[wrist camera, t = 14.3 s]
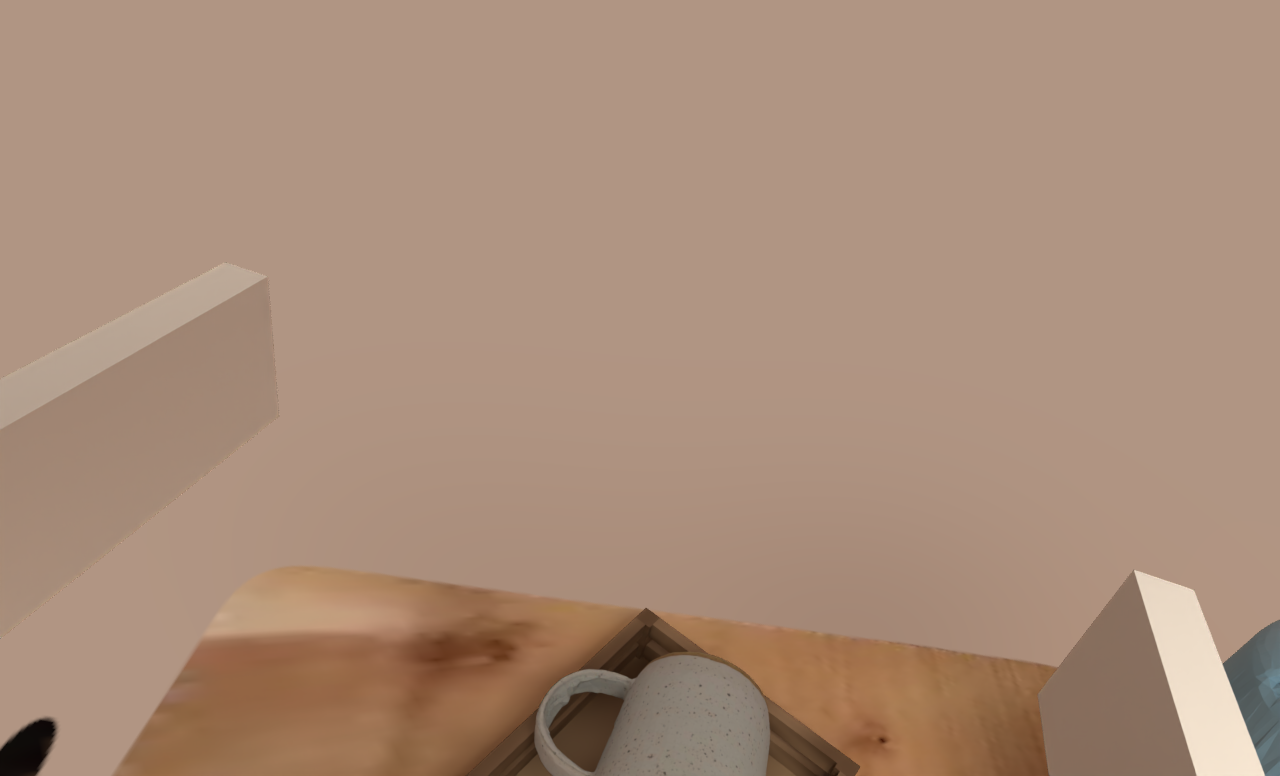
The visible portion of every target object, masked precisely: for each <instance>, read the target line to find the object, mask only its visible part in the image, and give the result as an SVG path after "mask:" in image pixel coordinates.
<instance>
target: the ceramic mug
mask: <svg viewBox="0 0 1280 776" xmlns="http://www.w3.org/2000/svg"><path fill="white" fill-rule="evenodd" d="M583 692H594V693H604V694H607V695H612V696H615V697H618V698H621V699H623V700H624V702H623V705H622V707H621V710H620V712H619V715H618V717H617V719H616V721H615V723H614V729H613V731H612V733H611V735H610V737H609V739H608V742H607V744H606V746H605V748H604V751H603V753H602V755H601V758H600V760H599V762H598V765H597V767H596V770H595V772H589V771H585V770H583V769H582V768H580V767H579V766H578V765H576V764H575V763H574V762H573V761H571V760H570V759H568V758H567V757H566V756H565V755H564V754H563V753H562V752H561V751H560V750H558V749H557V747H556V746H555V744H554V742H553V740H552V738H551V736H550V732H549V730H548V728H549V726H550V725H551V723H552V721H553V719H554V717H555V716H556V714H557V713H558V712H559V710H560V709H561V708H562V707H563V706H565V705H567V704H568V702H569V700H570V696H572V695H574V694H578V693H583ZM534 741H535V747H536V750H537V752H538V755H539V757H540V760H541V762H542V763H543V765H544V766H545V768H546V770H547V771H548V772H549V773H550V774H551V775H552V776H766V770H767V761H768V754H769V745H770V725H769V714H768V707H767V704H766V700H765V698H764V695H763V693H762V691H761V690H760V688H759V687H758V685H757V684H756V683H755V682H754V681H753V680H752V678H751V677H750V676H749V675H747V674H746V673H745V672H744V671H743V670H741V669H740V668H738V667H737V666H735V665H733V664H732V663H730V662H728V661H726V660H724V659H722V658H719V657H716V656H713V655H710V654H706V653H700V652H673V653H670V654H667V655H664V656H661V657H658V658H656V659H654V660H653V661H651V662H650V663H649V664H648V665H647V666H646V667H645V668H644V669H643V670H642V671H641V673H640V674H639V675H638V677H637V678H634V679H630V678H628V677H626V676H624V675H621V674H618V673H616V672H610V671H607V670H595V669H586V670H581V671H578V672H574V673H572V674H570V675H567V676H565V677H563V678H562V679H560V680H559V681H558V682H557V683H556V684H554V685H553V686H552V687H551V689H550V690H549V691H548V693H547V694H546V695H545V697H544V699H543V700H542V702H541V704H540V706H539V709H538V712H537V715H536V725H535V737H534Z"/></svg>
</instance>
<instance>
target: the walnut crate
mask: <svg viewBox="0 0 1280 776" xmlns="http://www.w3.org/2000/svg"><path fill="white" fill-rule="evenodd" d="M673 652H700V653H706V652H705V651H704V650H702V649H701V648H700V647H698V646H697V645H696V644H694V643H693V642H692V641H690V640H689V639H688V638H686V637H685V636H684V635H682V634H681V633H679V632H678V631H677V630H675V629H674V628H673V627H671V626H670V625H669V624H667V623H666V622H665V621H663V620H662V619H661V618H659V617H658V616H657V615H655V614H654V613H653V612H651V611H650V610H648V609H647V608H645V609H644V610H643V611H642V612H641V613H640V614H639V615H638V616H637V617H636V618H635V619H633V620H632V621H631V622H630V623H629V624H628V625H627V626H626V627H625V628H624V629H623V630H622V631H621V632H620V633H618V634H617V635H616V636H615V637H614V638H613V639H612V640H611V641H610V642H609V643H608V644H607V645H606V646H605V647H603V648H602V649H601V650H600V651H599V652H598V653H597V654H596V655H595V656H594V657H593V658H592V659H591V660H590V661H588V662H587V663H586V664H585V665H584V666H583V667H582V668H581V669H580V670H579V671H581V670H586V669H595V670H607V671H610V672H616V673H618V674H621V675H624V676H626V677H628V678H630V679H634V678H637V677H638V675H639V674H640V673H641V671H642V670H643V669H644V668H645V667H646V666H647V665H648V664H649V663H650V662H651V661H653V660H654V659H656V658H658V657H661V656H664V655H667V654H670V653H673ZM706 654H708V653H706ZM764 698H765V700H766V704H767V707H768V714H769V725H770V745H769V754H768V761H767V770H766V776H855V775H856V773H857V772H858V770H859V768H860V766H859V765H858V764H856V763H855V762H853V761H852V760H851V759H849V758H848V757H847V756H845V755H844V754H843V753H841V752H840V751H839V750H837V749H836V748H835V747H833V746H832V745H831V744H829V743H828V742H826V741H825V740H824V739H822V738H821V737H820V736H818V735H817V734H816V733H814V732H813V731H812V730H810V729H809V728H808V727H806V726H805V725H804V724H802V723H801V722H800V721H798V720H797V719H795V718H794V717H793V716H791V715H790V714H789V713H787V712H786V711H785V710H783V709H782V708H781V707H779V706H778V705H777V704H775V703H774V702H773V701H771V700H770V699H769V698H767V697H766V696H764ZM623 702H624V700H623V699H621V698H618V697H615V696H612V695H607V694H604V693H594V692H583V693H578V694H574V695H572V696H570V700H569V702H568V704H567V705H565V706H563V707H562V708H561V709H560V710H559V712H558V713H557V714H556V716H555V717H554V719H553V721H552V723H551V725H550V726H549V728H548V730H549V732H550V736H551V738H552V740H553V742H554V744H555V746H556V747H557V749H558V750H560V751H561V752H562V753H563V754H564V755H565V756H566V757H567V758H568V759H570V760H571V761H573V762H574V763H575V764H576V765H578V766H579V767H580V768H582V769H583V770H585V771H589V772H595V770H596V767H597V765H598V762H599V760H600V758H601V755H602V753H603V751H604V748H605V746H606V744H607V742H608V739H609V737H610V735H611V733H612V731H613V729H614V723H615V721H616V719H617V717H618V715H619V712H620V710H621V707H622V705H623ZM538 709H539V708H538ZM538 709H537V710H536V711H535V712H534V713H533V714H532V715H531V716H530V717H528V718H527V719H526V720H525V721H524V722H523V723H522V724H521V725H520V726H519V727H518V728H517V729H516V730H515V731H513V732H512V733H511V734H510V735H509V736H508V737H507V738H506V739H505V740H504V741H503V742H502V743H501V744H500V745H498V746H497V747H496V748H495V749H494V750H493V751H492V752H491V753H490V754H489V755H488V756H487V757H486V758H485V759H483V760H482V761H481V762H480V763H479V764H478V765H477V766H476V767H475V768H474V769H473V770H472V771H471V772H470V773H468V774H467V775H466V776H552V775H551V774H550V773H549V772H548V771H547V770H546V768H545V766H544V765H543V763H542V762H541V760H540V757H539V755H538V752H537V750H536V747H535V741H534V737H535V725H536V715H537V712H538Z"/></svg>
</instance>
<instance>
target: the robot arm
mask: <svg viewBox="0 0 1280 776" xmlns="http://www.w3.org/2000/svg"><path fill="white" fill-rule="evenodd" d="M268 284H269V283H268V276H265V275H262V274H259V273H256V272H253V271H250V270H247V269H244V268H241V267H238V266H235V265H233V264H230V263H227V262H225V263H223V264H221V265H219V266H217V267H215V268H213V269H211V270H209V271H207V272H205V273H204V274H201V275H200V276H198V277H196V278H194V279H192V280H190V281H188V282H186V283H184V284H182V285H180V286H178V287H176V288H174V289H173V290H171V291H169V292H167V293H165V294H163V295H161V296H159V297H157V298H155V299H153V300H151V301H149V302H147V303H146V304H144V305H142V306H140V307H138V308H136V309H134V310H132V311H130V312H128V313H126V314H124V315H122V316H120V317H118V318H116V319H114V320H113V321H111V322H109V323H107V324H105V325H103V326H101V327H99V328H97V329H95V330H93V331H91V332H90V333H88V334H85V335H84V336H82V337H80V338H78V339H76V340H74V341H72V342H70V343H68V344H66V345H64V346H62V347H60V348H58V349H56V350H54V351H53V352H51V353H49V354H47V355H45V356H43V357H41V358H39V359H37V360H35V361H33V362H32V363H29V364H27V365H25V366H24V367H22V368H20V369H18V370H16V371H14V372H12V373H10V374H8V375H6V376H4V377H2V378H0V639H1V638H2V637H3V636H4V635H6V634H7V633H8V632H9V631H11V630H12V629H13V628H15V627H16V626H17V625H18V624H20V623H21V622H22V621H23V620H25V619H26V618H27V617H28V616H30V615H31V614H32V613H33V612H35V611H36V610H37V609H38V608H39V607H41V606H42V605H43V604H44V603H46V602H47V601H48V600H50V599H51V598H52V597H53V596H55V595H56V594H57V593H58V592H60V591H61V590H62V589H63V588H65V587H66V586H67V585H68V584H70V583H71V582H72V581H73V580H75V579H76V578H77V577H78V576H80V575H81V574H82V573H83V572H85V571H86V570H87V569H88V568H90V567H91V566H92V565H93V564H95V563H96V562H97V561H98V560H100V559H101V558H102V557H104V556H105V555H106V554H107V553H109V552H110V551H111V550H112V549H114V548H115V547H116V546H117V545H119V544H120V543H121V542H122V541H124V540H125V539H126V538H127V537H129V536H130V535H131V534H132V533H134V532H135V531H136V530H137V529H139V528H140V527H141V526H142V525H144V524H145V523H146V522H147V521H148V520H150V519H151V518H152V517H154V516H155V515H156V514H157V513H159V512H160V511H161V510H162V509H164V508H165V507H166V506H167V505H169V504H170V503H171V502H172V501H174V500H175V499H176V498H178V497H179V496H180V495H181V494H183V493H184V492H185V491H186V490H187V489H189V488H190V487H191V486H193V485H194V484H195V483H196V482H198V481H199V480H200V479H201V478H203V477H204V476H205V475H206V474H208V473H209V472H210V471H211V470H212V469H214V468H215V467H216V466H218V465H219V464H220V463H221V462H223V461H224V460H225V459H226V458H228V457H229V456H230V455H231V454H233V453H234V452H235V451H236V450H238V449H239V448H240V447H241V446H243V445H244V444H245V443H246V442H248V441H249V440H250V439H251V438H253V437H254V436H255V435H256V434H258V433H259V432H260V431H261V430H263V429H264V428H265V427H266V426H268V425H269V424H270V423H272V422H273V421H274V420H275V419H276V418H278V417H279V408H278V395H277V382H276V371H275V358H274V345H273V334H272V321H271V309H270V296H269V285H268ZM1038 701H1039V708H1040V716H1041V723H1042V730H1043V737H1044V745H1045V752H1046V759H1047V767H1048V774H1049V776H1280V620H1278V621H1276V622H1274V623H1272V624H1270V625H1268V626H1267V627H1265V628H1264V629H1262V630H1261V631H1259V632H1258V633H1257V634H1256V635H1255V636H1254V637H1253V638H1251V639H1250V640H1249V641H1248V642H1247V643H1246V644H1245V645H1244V646H1243V647H1241V648H1240V649H1239V650H1238V651H1237V652H1236V653H1235V654H1233V655H1232V656H1231V657H1230V658H1229V659H1228V660H1227V661H1225V662H1224V663H1223V664H1222V662H1221V659H1220V657H1219V654H1218V652H1217V649H1216V646H1215V644H1214V641H1213V639H1212V636H1211V633H1210V631H1209V628H1208V626H1207V623H1206V620H1205V618H1204V615H1203V612H1202V610H1201V607H1200V605H1199V602H1198V599H1197V597H1196V594H1195V592H1194V590H1192V589H1189V588H1186V587H1183V586H1180V585H1177V584H1175V583H1172V582H1169V581H1165V580H1163V579H1160V578H1156V577H1154V576H1151V575H1148V574H1145V573H1142V572H1139V571H1136V570H1133V572H1132V573H1131V574H1130V575H1129V577H1128V578H1127V579H1126V580H1125V582H1124V583H1123V584H1122V586H1121V587H1120V588H1119V590H1118V591H1117V592H1116V593H1115V595H1114V596H1113V597H1112V599H1111V600H1110V601H1109V602H1108V604H1107V605H1106V606H1105V608H1104V609H1103V610H1102V612H1101V613H1100V614H1099V616H1098V617H1097V618H1096V619H1095V621H1094V622H1093V623H1092V624H1091V626H1090V627H1089V628H1088V630H1087V631H1086V632H1085V634H1084V635H1083V636H1082V638H1081V639H1080V640H1079V641H1078V643H1077V644H1076V645H1075V647H1074V648H1073V649H1072V650H1071V652H1070V653H1069V654H1068V656H1067V657H1066V658H1065V659H1064V661H1063V662H1062V663H1061V665H1060V666H1059V667H1058V669H1057V670H1056V671H1055V672H1054V674H1053V675H1052V676H1051V678H1050V679H1049V680H1048V681H1047V683H1046V684H1045V685H1044V687H1043V688H1042V689H1041V691H1040V692H1039V693H1038Z"/></svg>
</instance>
